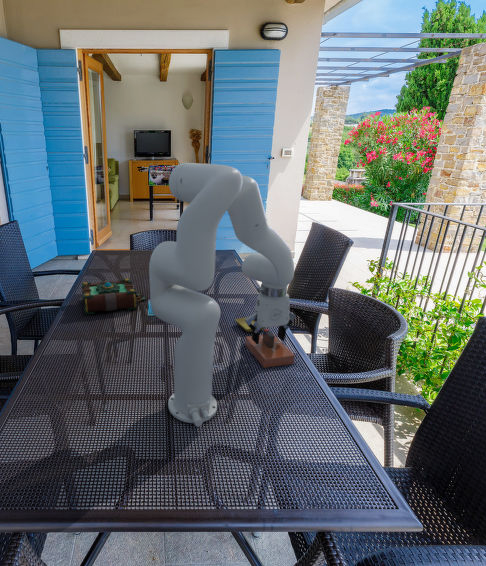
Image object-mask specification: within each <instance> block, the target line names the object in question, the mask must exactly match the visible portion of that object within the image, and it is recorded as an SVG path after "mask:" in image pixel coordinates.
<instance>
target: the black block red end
mask: <svg viewBox="0 0 486 566" xmlns="http://www.w3.org/2000/svg"><path fill="white" fill-rule="evenodd" d="M262 330H263V331H262V335H263V339H262V341H263V342H264V343H265V344H266V345H267V346H268V347H269V348H272V347H273V346H274V338H275V336H276V335H275V334H274V333H272V332H271V331H270V330H269V329H268V328H264V329H262ZM273 334H274V335H275V336H274V335H273Z"/></svg>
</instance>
